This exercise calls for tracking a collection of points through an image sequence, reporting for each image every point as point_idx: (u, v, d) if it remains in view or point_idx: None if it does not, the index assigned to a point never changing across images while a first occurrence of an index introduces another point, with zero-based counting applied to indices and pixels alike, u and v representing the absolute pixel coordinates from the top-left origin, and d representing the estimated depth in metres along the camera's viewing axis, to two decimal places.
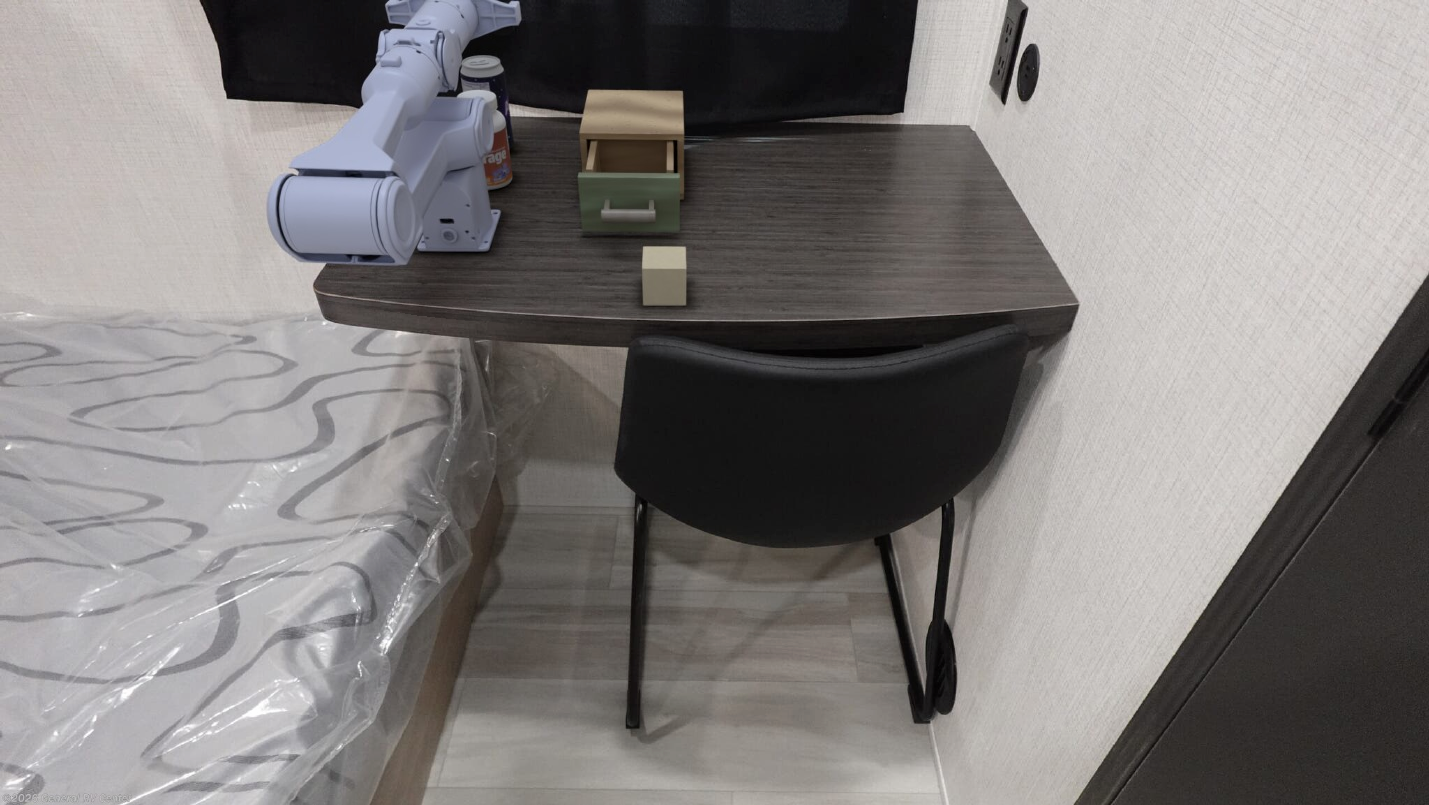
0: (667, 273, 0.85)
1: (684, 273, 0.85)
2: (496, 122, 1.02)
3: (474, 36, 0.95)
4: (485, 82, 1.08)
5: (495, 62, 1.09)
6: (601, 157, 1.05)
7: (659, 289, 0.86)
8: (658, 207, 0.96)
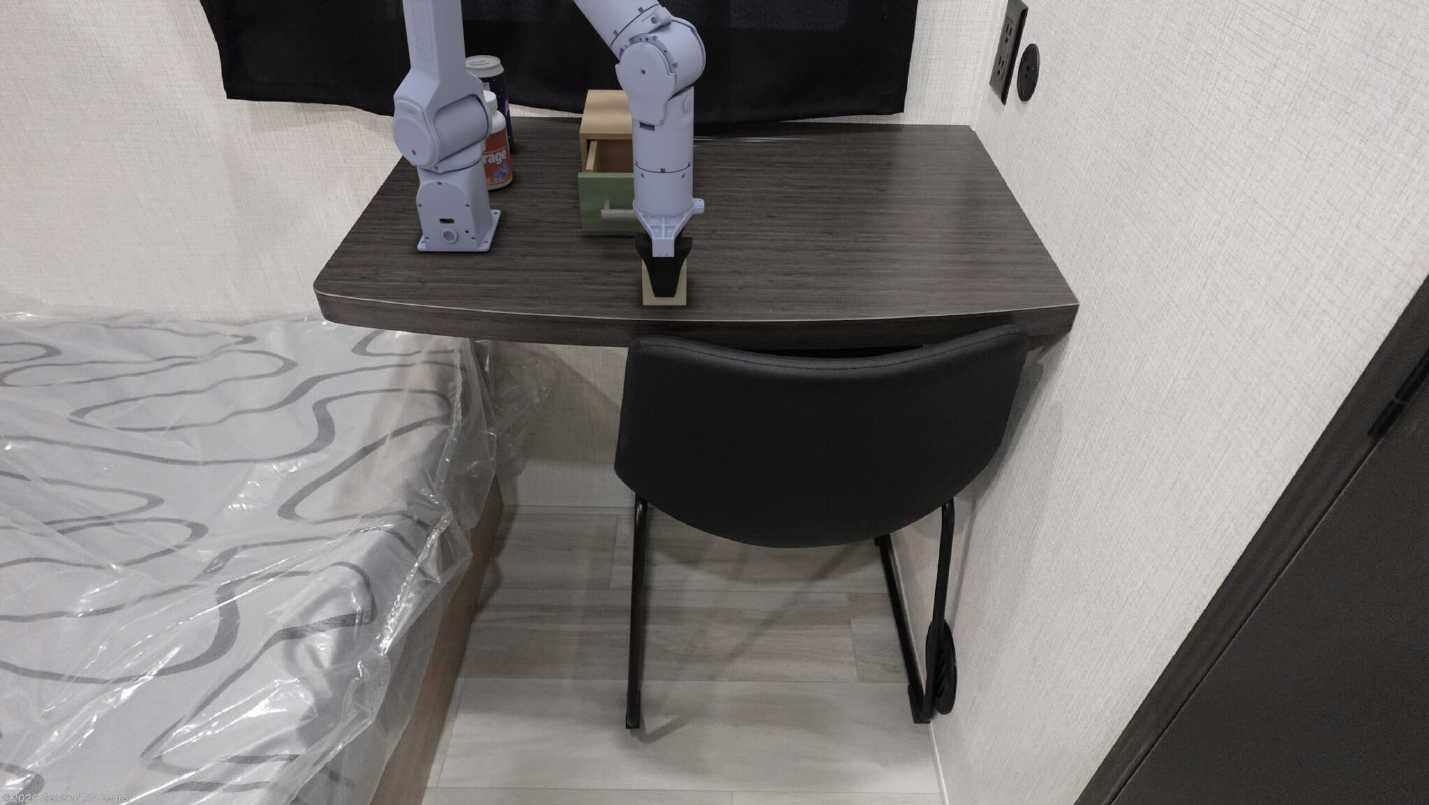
0: None
1: (684, 273, 0.85)
2: (496, 122, 1.02)
3: (639, 212, 0.81)
4: (485, 82, 1.08)
5: (495, 62, 1.09)
6: (601, 157, 1.05)
7: None
8: None
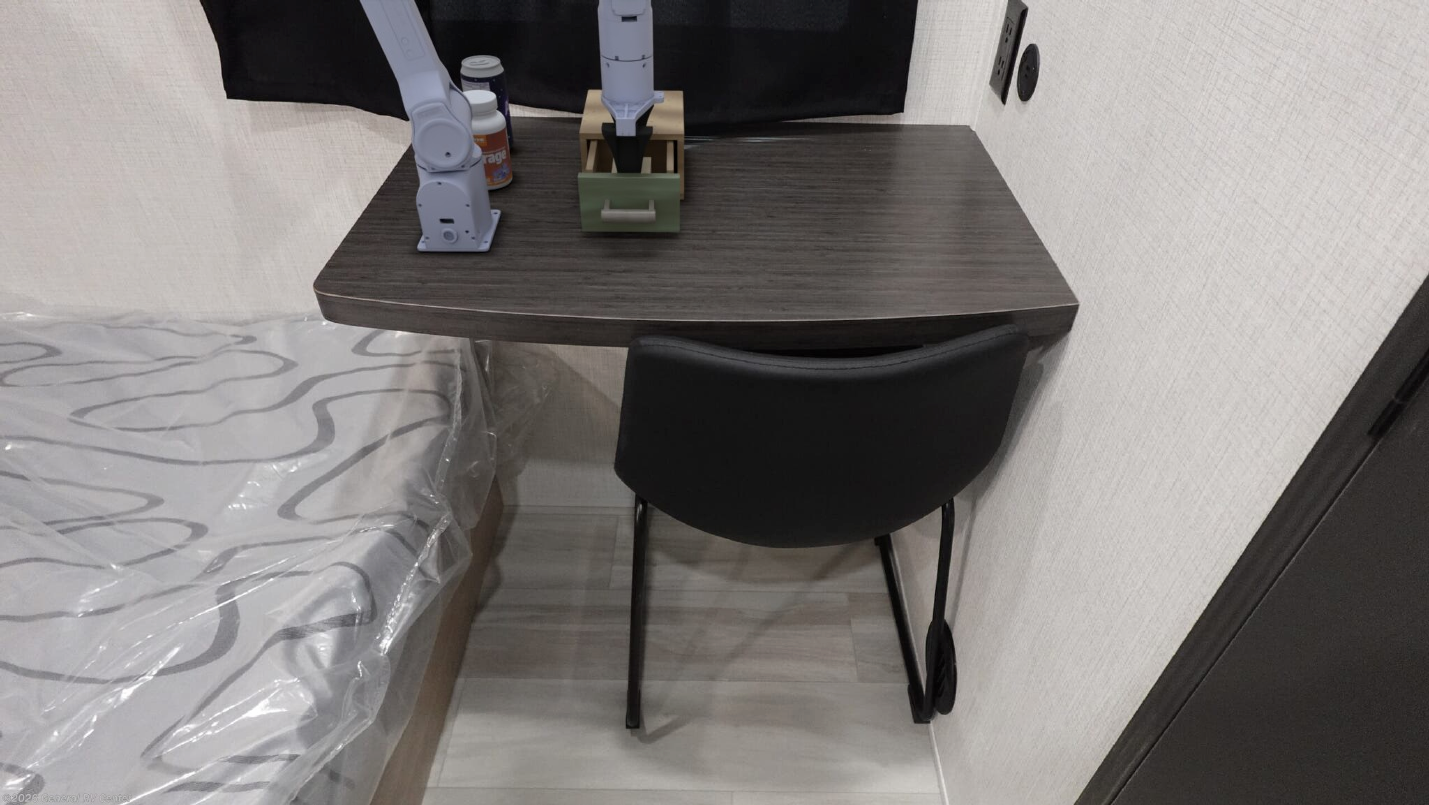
0: None
1: None
2: (496, 122, 1.02)
3: (606, 99, 0.92)
4: (485, 82, 1.08)
5: (495, 62, 1.09)
6: (601, 157, 1.05)
7: None
8: (658, 207, 0.96)
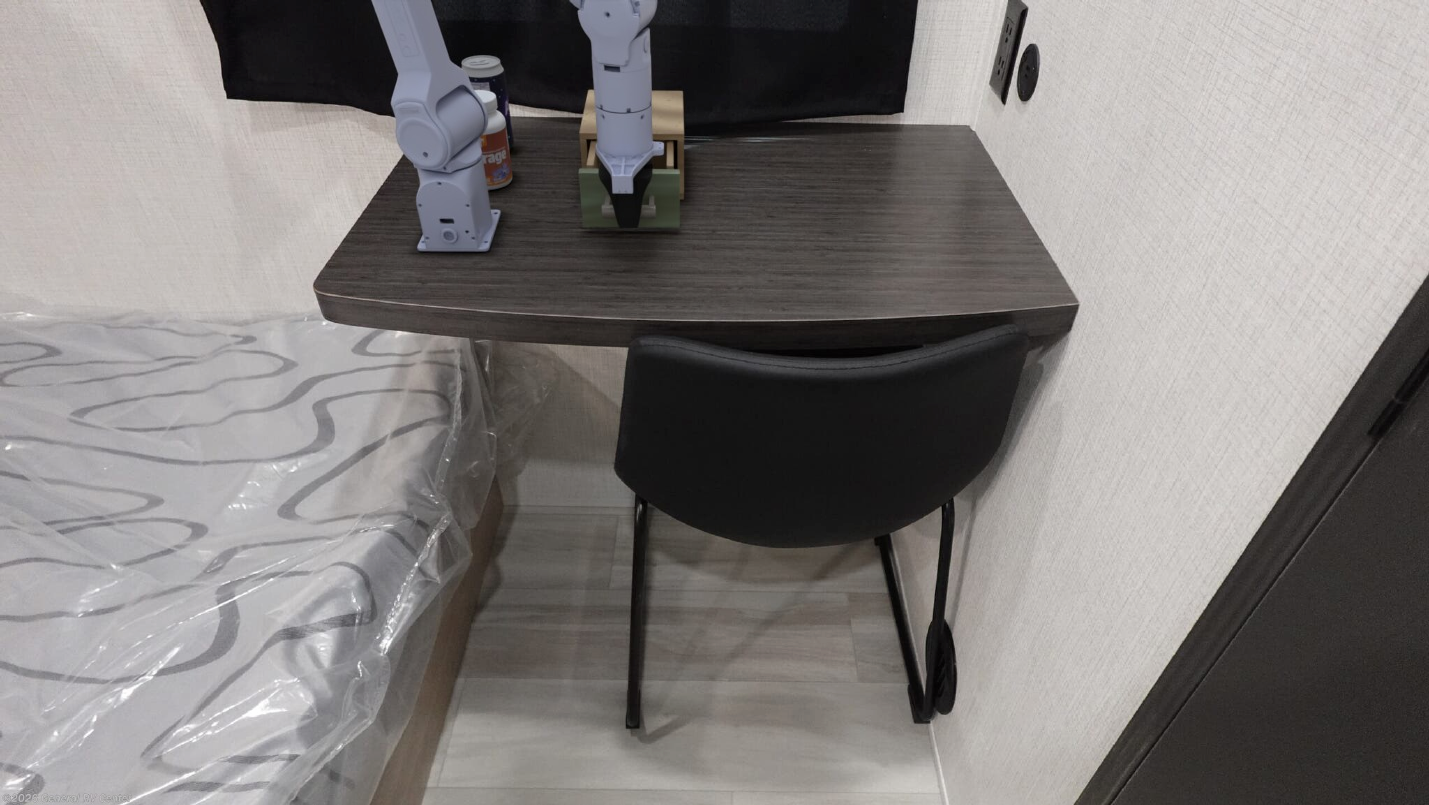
0: None
1: None
2: (496, 122, 1.02)
3: (601, 152, 0.85)
4: (485, 82, 1.08)
5: (495, 62, 1.09)
6: None
7: None
8: (658, 203, 0.97)
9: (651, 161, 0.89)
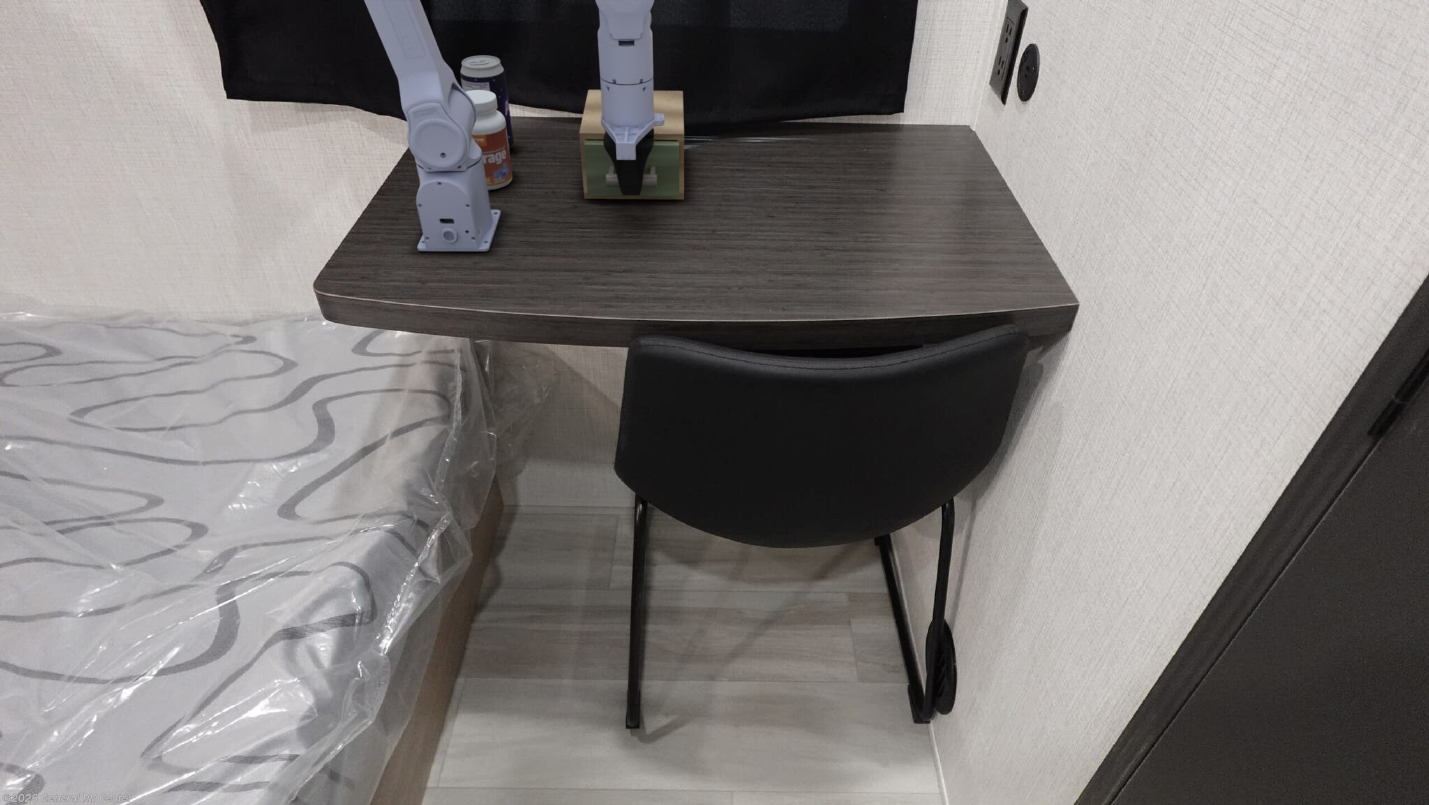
0: None
1: None
2: (496, 122, 1.02)
3: (606, 122, 0.91)
4: (485, 82, 1.08)
5: (495, 62, 1.09)
6: None
7: None
8: (659, 173, 1.03)
9: (652, 132, 0.95)
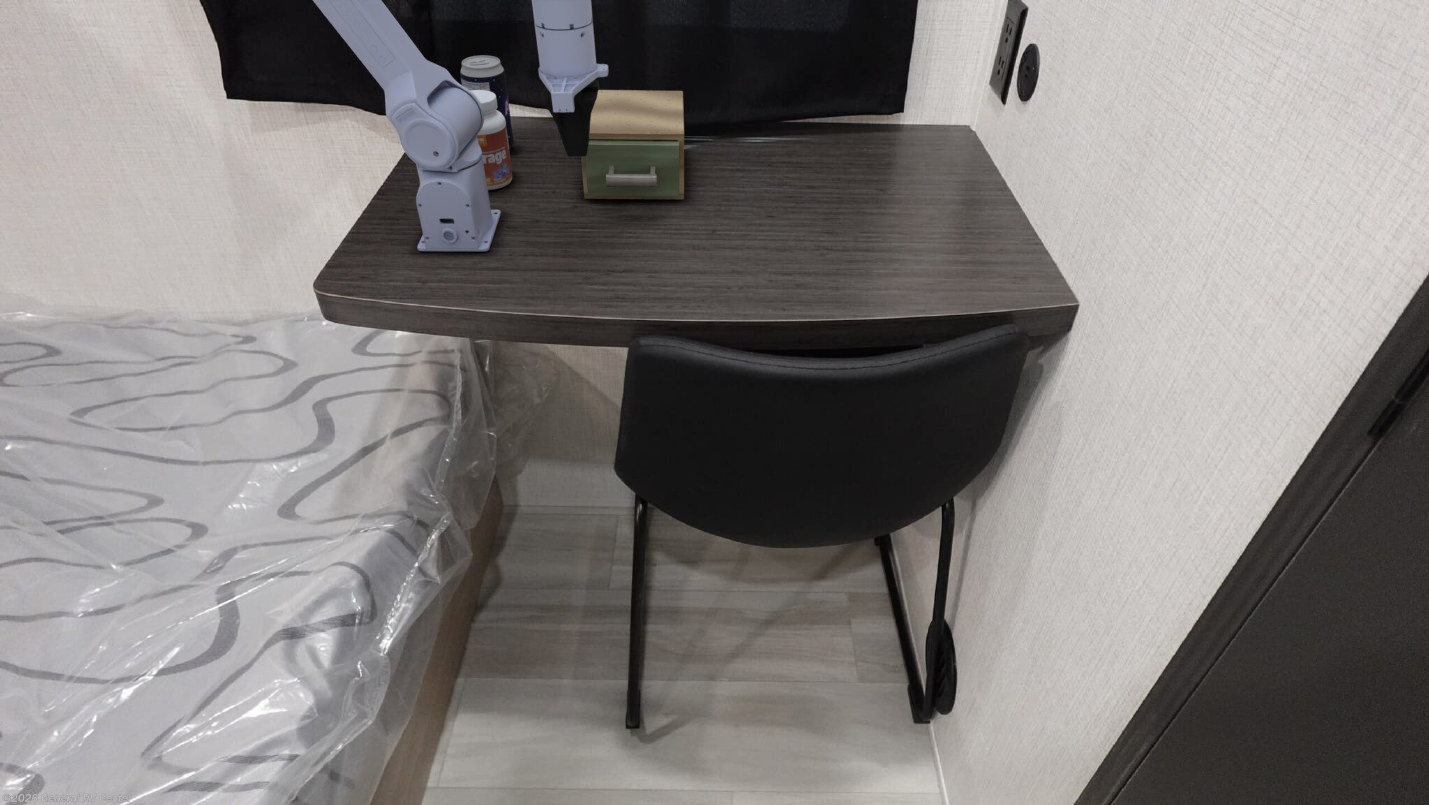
0: None
1: None
2: (496, 122, 1.02)
3: (543, 74, 0.84)
4: (485, 82, 1.08)
5: (495, 62, 1.09)
6: None
7: None
8: (659, 173, 1.03)
9: (596, 85, 0.88)
